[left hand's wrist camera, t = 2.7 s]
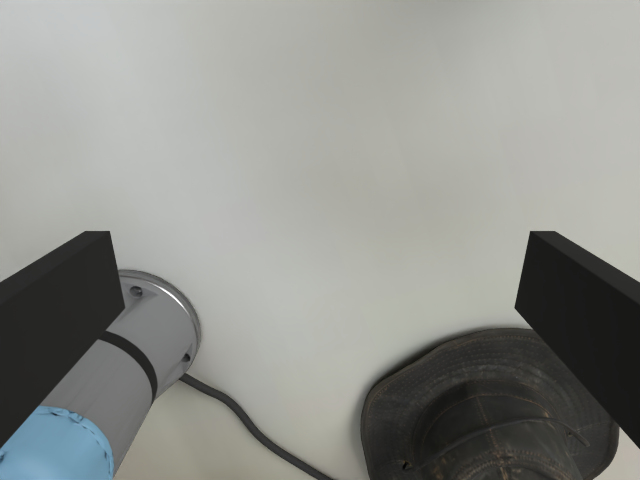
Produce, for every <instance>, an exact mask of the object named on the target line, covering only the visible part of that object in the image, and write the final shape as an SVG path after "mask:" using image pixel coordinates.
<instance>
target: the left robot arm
mask: <svg viewBox="0 0 640 480" xmlns="http://www.w3.org/2000/svg"><path fill="white" fill-rule="evenodd" d="M124 309H125V303H124V298H123V293H122V288H121V283H120V279H119V274H118V269H117V264H116V259H115V254H114V249H113V245H112V240H111V235H110V231H85V232H83V233H81V234H80V235H78V236H76V237H75V238H73V239H71V240H70V241H68V242H66V243H65V244H63V245H61V246H60V247H58V248H56V249H55V250H53V251H52V252H50V253H48V254H47V255H45V256H43V257H42V258H40V259H38V260H37V261H35V262H33V263H32V264H30V265H28V266H27V267H25V268H23V269H22V270H20V271H18V272H17V273H15V274H13V275H12V276H10V277H9V278H7V279H5V280H4V281H2V282H0V449H1V448H2V447H3V445H4V444H5V443H6V442H7V441H8V440H9V439H10V438H11V436H12V435H13V434H14V433H15V432H16V431H17V430H18V429H19V427H20V426H21V425H22V424H23V423H24V422H25V421H26V420H27V418H28V417H29V416H30V415H31V414H32V413H33V412H34V411H35V409H36V408H37V407H38V406H39V405H40V404H41V403H42V402H43V400H44V399H45V398H46V397H47V396H48V395H49V394H50V393H51V391H52V390H53V389H54V388H55V387H56V386H57V385H58V383H59V382H60V381H61V380H62V379H63V378H64V377H65V376H66V374H67V373H68V372H69V371H70V370H71V369H72V368H73V367H74V365H75V364H76V363H77V362H78V361H79V360H80V359H81V358H82V356H83V355H84V354H85V353H86V352H87V351H88V350H89V349H90V347H91V346H92V345H93V344H94V343H95V342H96V341H97V340H98V338H99V337H100V336H101V335H102V334H103V333H104V332H105V331H106V329H107V328H108V327H109V326H110V325H111V324H112V323H113V322H114V320H115V319H116V318H117V317H118V316H119V315H120V314H121V313H122V311H123V310H124ZM515 309H516V310H517V311H518V313H519V314H520V315H521V316H522V317H523V318H524V319H525V320H526V322H527V323H528V324H529V325H530V326H531V327H532V328H533V329H534V331H535V332H536V333H537V334H538V335H539V336H540V337H541V338H542V340H543V341H544V342H545V343H546V344H547V345H548V346H549V347H550V349H551V350H552V351H553V352H554V353H555V354H556V355H557V356H558V358H559V359H560V360H561V361H562V362H563V363H564V364H565V365H566V367H567V368H568V369H569V370H570V371H571V372H572V373H573V374H574V376H575V377H576V378H577V379H578V380H579V381H580V382H581V383H582V385H583V386H584V387H585V388H586V389H587V390H588V391H589V393H590V394H591V395H592V396H593V397H594V398H595V399H596V400H597V402H598V403H599V404H600V405H601V406H602V407H603V408H604V409H605V411H606V412H607V413H608V414H609V415H610V416H611V417H612V418H613V420H614V421H615V422H616V423H617V424H618V425H619V426H620V427H621V429H622V430H623V431H624V432H625V433H626V434H627V435H628V436H629V438H630V439H631V440H632V441H633V442H634V443H635V444H636V445H637V447H638V448H639V449H640V282H638V281H636V280H635V279H633V278H631V277H630V276H628V275H627V274H625V273H623V272H622V271H620V270H618V269H617V268H615V267H613V266H612V265H610V264H608V263H607V262H605V261H603V260H602V259H600V258H598V257H597V256H595V255H593V254H592V253H590V252H588V251H587V250H585V249H584V248H582V247H580V246H579V245H577V244H575V243H574V242H572V241H570V240H569V239H567V238H565V237H564V236H562V235H560V234H559V233H557V232H555V231H530V235H529V240H528V245H527V249H526V254H525V259H524V264H523V269H522V274H521V279H520V283H519V288H518V293H517V298H516V303H515Z"/></svg>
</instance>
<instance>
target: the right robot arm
mask: <svg viewBox="0 0 640 480" xmlns="http://www.w3.org/2000/svg"><path fill="white" fill-rule="evenodd" d="M118 274H119V279H120V283H121V288H122V293H123V298H124V303H125V309H124V310H123V311H122V313H121V314H120V315H119V316H118V317H117V318H116V319H115V320H114V322H113V323H112V324H111V325H110V326H109V327H108V328H107V329H106V331H105V332H104V333H103V334H102V335H101V336H100V337H99V338H98V340H97V341H96V342H95V343H94V344H93V345H92V346H91V347H90V349H89V350H88V351H87V352H86V353H85V354H84V355H83V356H82V358H81V359H80V360H79V361H78V362H77V363H76V364H75V365H74V367H73V368H72V369H71V370H70V371H69V372H68V373H67V374H66V376H65V377H64V378H63V379H62V380H61V381H60V382H59V383H58V385H57V386H56V387H55V388H54V389H53V390H52V391H51V393H50V394H49V395H48V396H47V397H46V398H45V399H44V400H43V402H42V403H41V404H40V405H39V406H38V407H37V408H36V409H35V411H34V412H33V413H32V414H31V415H30V416H29V417H28V418H27V420H26V421H25V422H24V423H23V424H22V425H21V426H20V427H19V429H18V430H17V431H16V432H15V433H14V434H13V435H12V436H11V438H10V439H9V440H8V441H7V442H6V443H5V444H4V445H3V447H2V448H1V449H0V480H113V478H114V476H115V474H116V472H117V470H118V468H119V466H120V464H121V463H122V461H123V459H124V457H125V455H126V453H127V451H128V449H129V447H130V445H131V444H132V442H133V440H134V438H135V436H136V434H137V432H138V430H139V428H140V426H141V425H142V423H143V421H144V419H145V417H146V415H147V413H148V411H149V409H150V407H151V405H152V404H153V402H154V400H155V399H156V398H157V397H159V396H160V395H161V394H162V393H163V392H164V391H166V390H167V389H168V388H169V387H170V386H171V385H172V384H174V383H175V382H176V381H177V380H178V379H179V380H181V381H183V382H185V383H186V384H188V385H190V386H192V387H194V388H196V389H198V390H199V391H201V392H203V393H205V394H207V395H210V396H212V397H214V398H216V399H218V400H220V401H222V402H223V403H225V404H226V405H227V406H228V407H230V408H231V409H232V410H233V411H234V412H235V413H236V414H237V416H238V417H239V418H240V419H241V421H242V422H243V423H244V425H245V426H246V427H247V428H248V430H249V431H250V432H251V433H252V434H253V435H254V437H255V438H256V439H258V440H259V441H260V442H261V443H262V444H263V445H264V446H266V447H267V448H268V449H270V450H271V451H272V452H274V453H275V454H277V455H278V456H280V457H281V458H283V459H285V460H286V461H288V462H289V463H291V464H293V465H294V466H296V467H298V468H299V469H301V470H303V471H304V472H306V473H308V474H309V475H311V476H313V477H314V478H316V479H318V480H333V479H331V478H329V477H327V476H326V475H324V474H322V473H320V472H319V471H317V470H315V469H314V468H312V467H310V466H309V465H307V464H306V463H304V462H302V461H301V460H299V459H297V458H296V457H294V456H292V455H291V454H289V453H288V452H286V451H284V450H283V449H281V448H280V447H278V446H277V445H276V444H274V443H273V442H272V441H270V440H269V439H268V438H267V437H266V436H264V435H263V434H262V433H261V432H260V431H259V430H258V429H257V427H256V426H255V425H254V424H253V422H252V421H251V420H250V418H249V417H248V416H247V415H246V413H245V412H244V411H243V410H242V408H241V407H240V406H239V405H238V404H237V403H236V402H235V401H234V400H232V399H231V398H230V397H229V396H227V395H226V394H224V393H222V392H220V391H218V390H216V389H214V388H211V387H209V386H207V385H206V384H204V383H202V382H200V381H198V380H197V379H195V378H193V377H191V376H189V375H188V374H186V373H185V372H186V371H187V370H188V369H189V367H190V366H191V364H192V362H193V360H194V358H195V356H196V354H197V352H198V349H199V346H200V341H201V329H200V323H199V320H198V317H197V314H196V312H195V310H194V308H193V307H192V305H191V304H190V302H189V301H188V300H187V298H186V297H185V296H184V295H183V294H182V293H181V292H180V291H179V290H178V289H176V288H175V287H174V286H172V285H171V284H169V283H168V282H166V281H164V280H162V279H161V278H158V277H156V276H154V275H151V274H148V273H144V272H140V271H134V270H118Z"/></svg>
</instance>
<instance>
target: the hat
mask: <svg viewBox="0 0 640 480" xmlns="http://www.w3.org/2000/svg"><path fill="white" fill-rule="evenodd" d="M619 427H620V426H619V425H618V424H617V423H616V422H615V421H614V420H613V418H612V417H611V416H610V415H609V414H608V413H607V412H606V411H605V409H604V408H603V407H602V406H601V405H600V404H599V403H598V402H597V400H596V399H595V398H594V397H593V396H592V395H591V394H590V393H589V391H588V390H587V389H586V388H585V387H584V386H583V385H582V383H581V382H580V381H579V380H578V379H577V378H576V377H575V376H574V374H573V373H572V372H571V371H570V370H569V369H568V368H567V367H566V365H565V364H564V363H563V362H562V361H561V360H560V359H559V358H558V356H557V355H556V354H555V353H554V352H553V351H552V350H551V349H550V347H549V346H548V345H547V344H546V343H545V342H544V341H543V340H542V338H541V337H540V336H539V335H538V334H537V333H536V332H535V331H534V330H532V329H521V328H503V329H489V330H484V331H480V332H476V333H472V334H469V335H465V336H463V337H460V338H457V339H454V340H451V341H449V342H446V343H444V344H442V345H439V346H438V347H436V348H435V349H433V350H432V351H431V352H429V353H428V354H426V355H425V356H423V357H421V358H420V359H418V360H417V361H415V362H414V363H412V364H410V365H408V366H406V367H404V368H403V369H401V370H400V371H398V372H396V373H395V374H393V375H392V376H390V377H388V378H386V379H384V380H383V381H381V382H380V383H379V384H377V385H376V386H375V387H374V388H373V389H372V390H371V391H370V393H369V394H368V396H367V398H366V400H365V403H364V407H363V411H362V416H361V440H362V445H363V450H364V454H365V459H366V464H367V469H368V473H369V477H370V480H593V479H594V478H595V477H597V476H598V475H600V474H601V473H602V472H603V471H604V470H605V469H606V468H607V467H608V466H609V465H610V463H611V462H612V460H613V458H614V456H615V454H616V451H617V447H618V440H619Z"/></svg>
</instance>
